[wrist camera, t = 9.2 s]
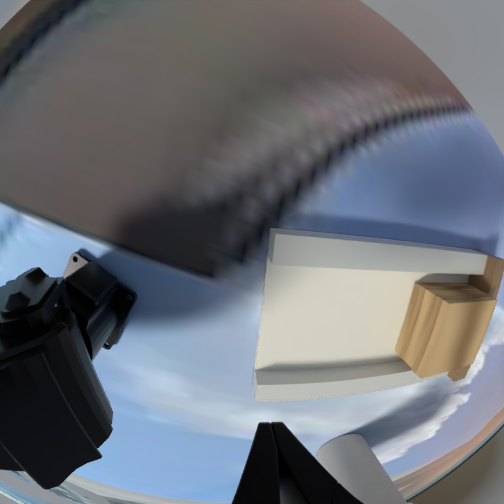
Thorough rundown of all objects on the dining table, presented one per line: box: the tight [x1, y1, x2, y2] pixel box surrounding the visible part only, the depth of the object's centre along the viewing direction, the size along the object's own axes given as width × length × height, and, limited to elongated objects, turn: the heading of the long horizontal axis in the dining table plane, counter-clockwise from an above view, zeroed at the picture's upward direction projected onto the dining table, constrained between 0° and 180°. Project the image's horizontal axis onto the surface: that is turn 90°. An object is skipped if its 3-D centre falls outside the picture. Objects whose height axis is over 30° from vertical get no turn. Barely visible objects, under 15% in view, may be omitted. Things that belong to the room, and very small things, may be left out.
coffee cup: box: [317, 434, 412, 504], centre depth 20 cm, size 10×10×15 cm
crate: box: [395, 283, 497, 379], centre depth 20 cm, size 8×7×5 cm
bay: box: [252, 228, 504, 402], centre depth 21 cm, size 24×14×4 cm, turn 85°
